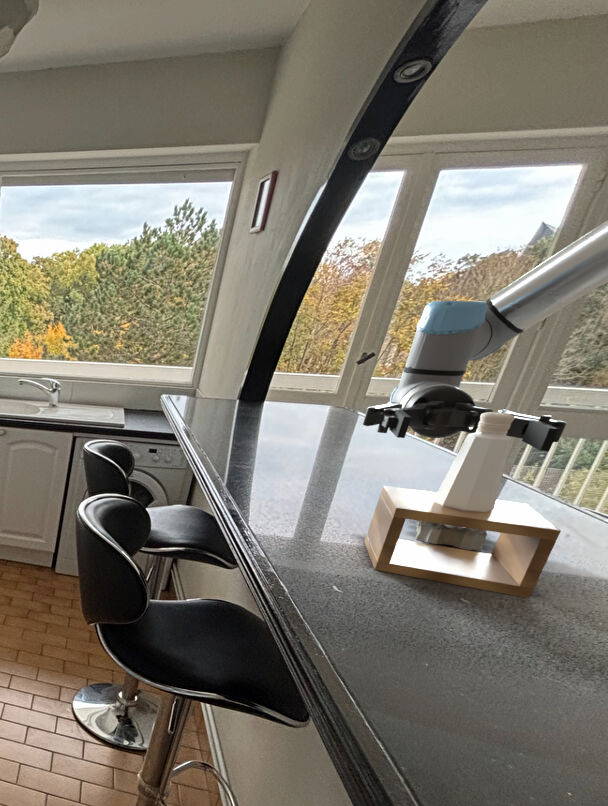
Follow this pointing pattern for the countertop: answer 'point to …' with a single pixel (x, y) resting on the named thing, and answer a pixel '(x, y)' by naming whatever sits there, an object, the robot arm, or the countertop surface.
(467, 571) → the frame
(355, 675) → the countertop surface
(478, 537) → the grey bumpy bar
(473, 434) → the pepper shaker
